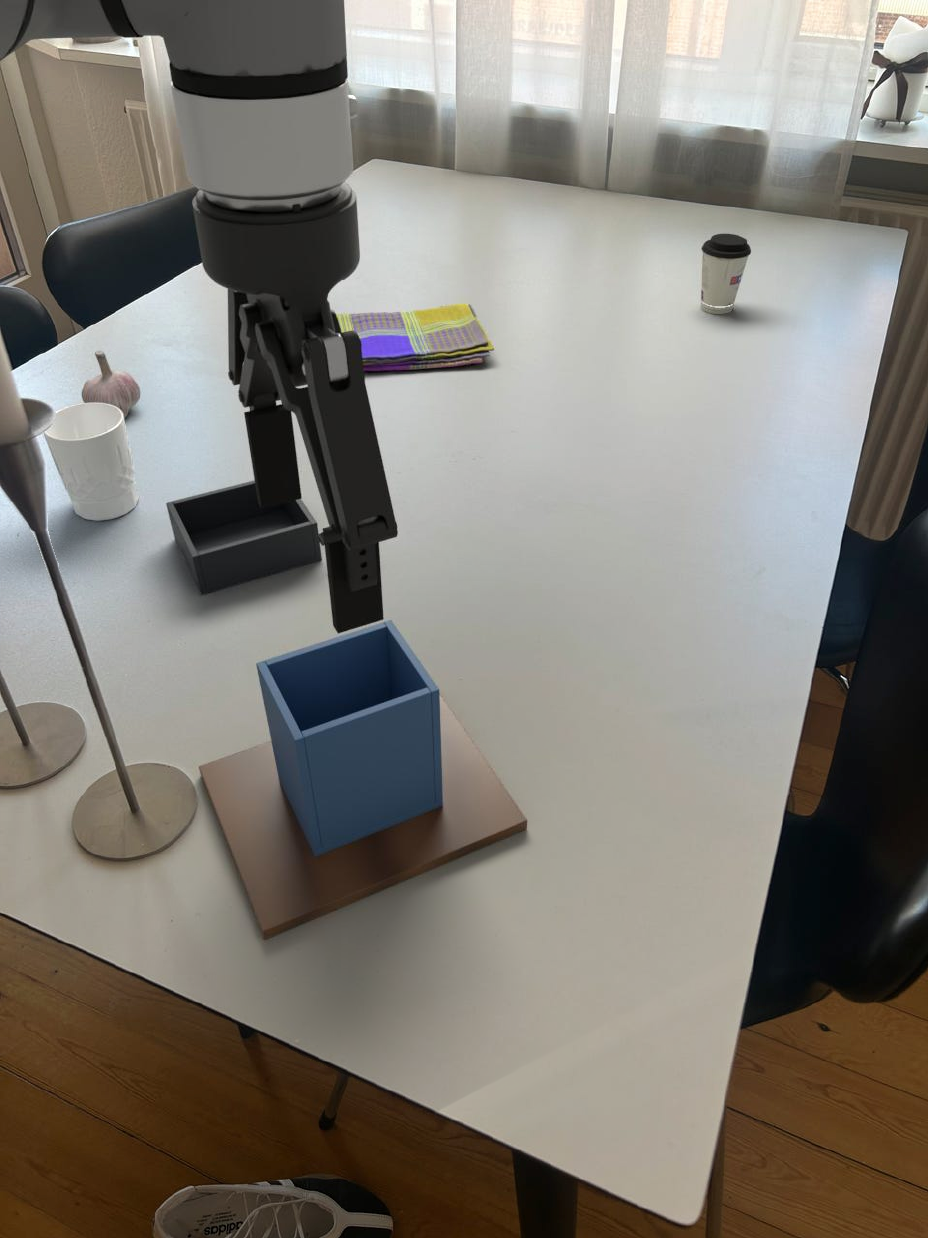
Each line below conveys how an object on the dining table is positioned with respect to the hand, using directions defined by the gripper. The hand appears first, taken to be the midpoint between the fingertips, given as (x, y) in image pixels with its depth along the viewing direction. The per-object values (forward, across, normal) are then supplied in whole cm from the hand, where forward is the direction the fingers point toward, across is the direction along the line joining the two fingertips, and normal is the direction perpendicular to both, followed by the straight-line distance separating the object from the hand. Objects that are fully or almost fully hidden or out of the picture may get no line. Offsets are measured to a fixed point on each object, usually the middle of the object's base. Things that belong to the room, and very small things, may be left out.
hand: (316, 557), depth 58 cm
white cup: (+23, +49, +8) cm, 55 cm away
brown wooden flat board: (+23, -1, -1) cm, 23 cm away
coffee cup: (+22, +62, -83) cm, 106 cm away
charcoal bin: (+23, +34, -3) cm, 41 cm away
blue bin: (+22, -1, -1) cm, 22 cm away
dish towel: (+23, +72, -36) cm, 83 cm away
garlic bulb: (+23, +70, +3) cm, 74 cm away
